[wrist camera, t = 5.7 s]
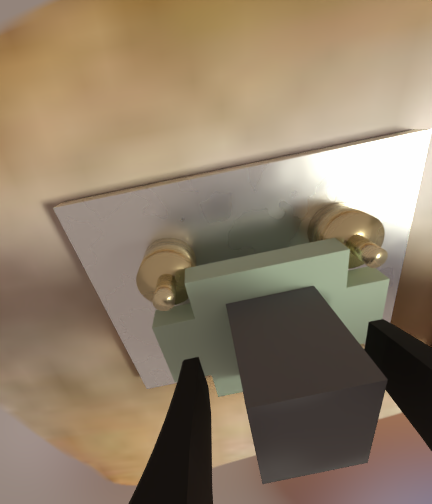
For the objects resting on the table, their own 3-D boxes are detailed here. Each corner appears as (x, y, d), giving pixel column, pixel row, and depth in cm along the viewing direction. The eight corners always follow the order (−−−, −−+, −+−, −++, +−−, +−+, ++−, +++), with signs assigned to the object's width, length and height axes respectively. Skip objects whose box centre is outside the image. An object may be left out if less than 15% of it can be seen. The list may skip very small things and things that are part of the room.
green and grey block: (377, 228, 11) (535, 313, 6) (360, 347, 15) (448, 462, 10) (142, 277, 11) (100, 403, 6) (184, 383, 15) (181, 517, 10)
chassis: (413, 129, 12) (524, 129, 8) (377, 329, 19) (428, 384, 15) (62, 202, 12) (-1, 238, 8) (149, 376, 19) (137, 444, 15)
